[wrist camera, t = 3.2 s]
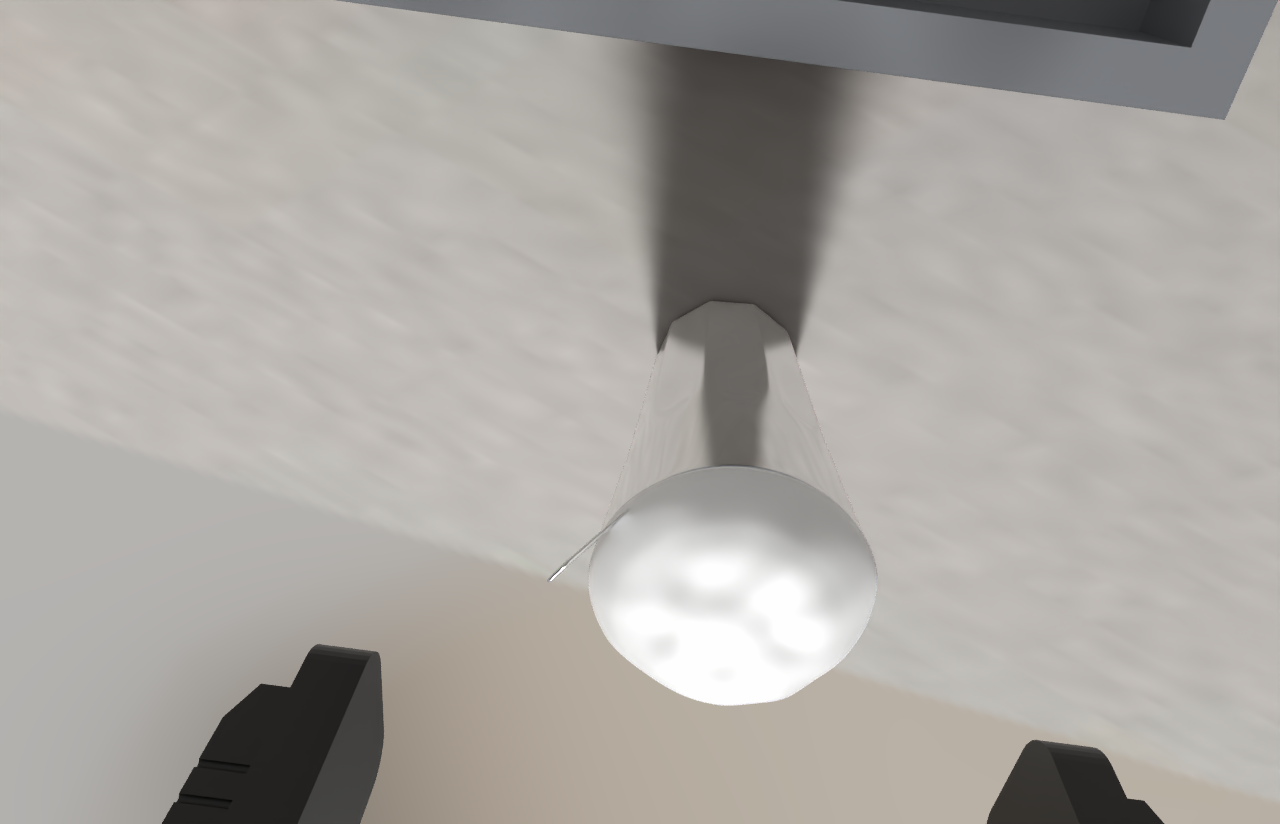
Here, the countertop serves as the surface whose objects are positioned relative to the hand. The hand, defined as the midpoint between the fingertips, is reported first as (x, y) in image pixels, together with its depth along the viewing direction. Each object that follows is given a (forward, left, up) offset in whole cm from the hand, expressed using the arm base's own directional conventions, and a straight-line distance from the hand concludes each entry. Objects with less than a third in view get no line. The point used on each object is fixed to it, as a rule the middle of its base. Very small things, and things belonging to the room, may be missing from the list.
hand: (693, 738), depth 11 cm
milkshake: (0, 0, -12) cm, 12 cm away
